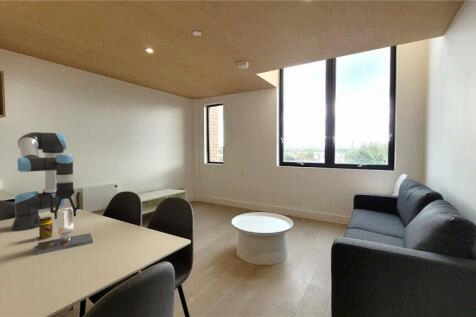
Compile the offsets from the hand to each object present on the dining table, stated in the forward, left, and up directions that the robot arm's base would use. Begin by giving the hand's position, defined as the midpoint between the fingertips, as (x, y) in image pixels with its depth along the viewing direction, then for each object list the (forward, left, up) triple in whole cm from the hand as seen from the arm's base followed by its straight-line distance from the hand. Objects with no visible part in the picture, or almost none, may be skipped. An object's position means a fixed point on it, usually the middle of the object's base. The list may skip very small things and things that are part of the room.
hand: (65, 223), depth 126 cm
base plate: (0, 0, -12) cm, 12 cm away
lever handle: (0, 0, -4) cm, 4 cm away
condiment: (-19, -10, -12) cm, 25 cm away
